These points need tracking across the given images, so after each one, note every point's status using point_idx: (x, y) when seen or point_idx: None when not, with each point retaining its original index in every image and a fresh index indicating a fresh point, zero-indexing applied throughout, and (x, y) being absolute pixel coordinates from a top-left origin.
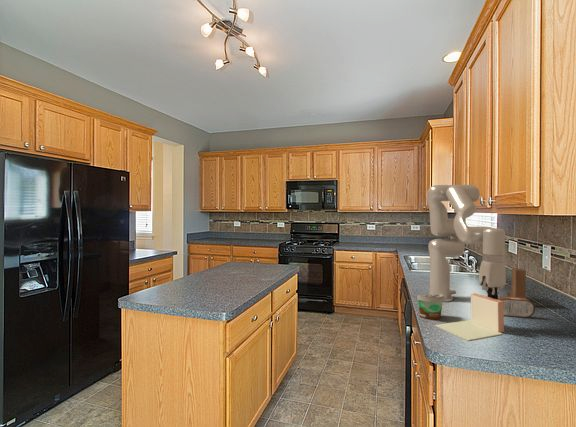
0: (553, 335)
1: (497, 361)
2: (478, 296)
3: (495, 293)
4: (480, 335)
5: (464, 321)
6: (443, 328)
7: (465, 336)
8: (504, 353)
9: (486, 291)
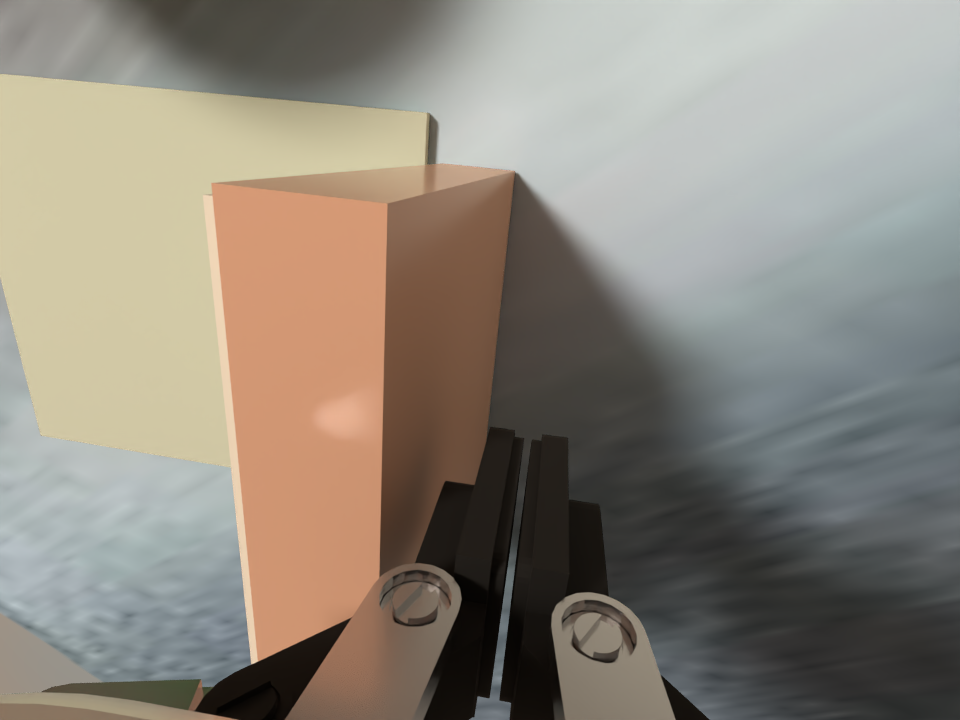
0: (791, 681)
1: (33, 631)
2: (237, 410)
3: (524, 715)
4: (196, 435)
5: (347, 135)
6: None
7: (63, 390)
8: (144, 616)
9: (363, 602)
